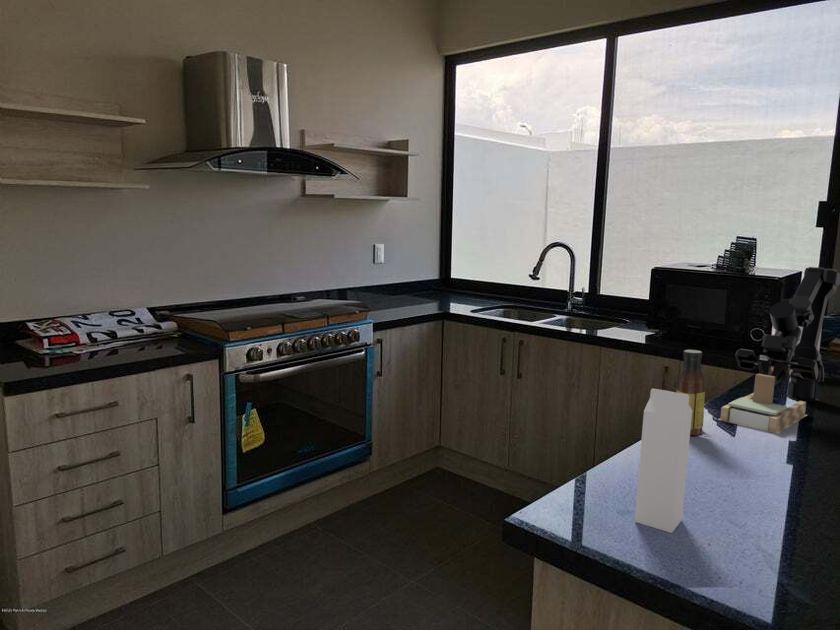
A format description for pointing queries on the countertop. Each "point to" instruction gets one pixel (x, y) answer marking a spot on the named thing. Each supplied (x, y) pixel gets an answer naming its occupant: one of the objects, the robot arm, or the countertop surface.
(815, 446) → the countertop surface
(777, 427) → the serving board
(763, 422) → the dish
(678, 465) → the milk
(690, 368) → the sauce bottle
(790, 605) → the countertop surface
